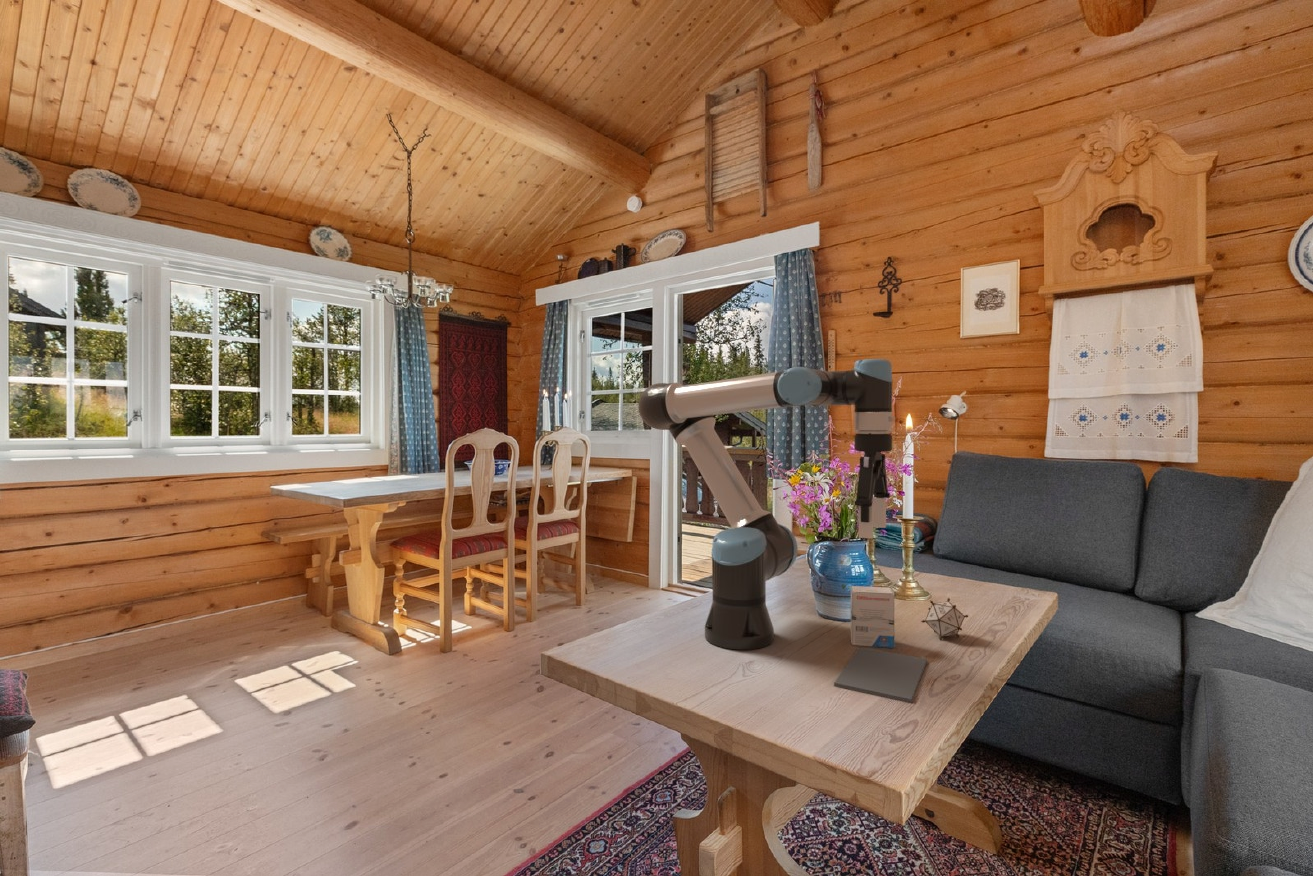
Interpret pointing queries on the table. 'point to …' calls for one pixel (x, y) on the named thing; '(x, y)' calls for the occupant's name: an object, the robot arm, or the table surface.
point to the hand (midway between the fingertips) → (872, 532)
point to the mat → (882, 674)
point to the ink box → (872, 616)
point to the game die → (944, 618)
